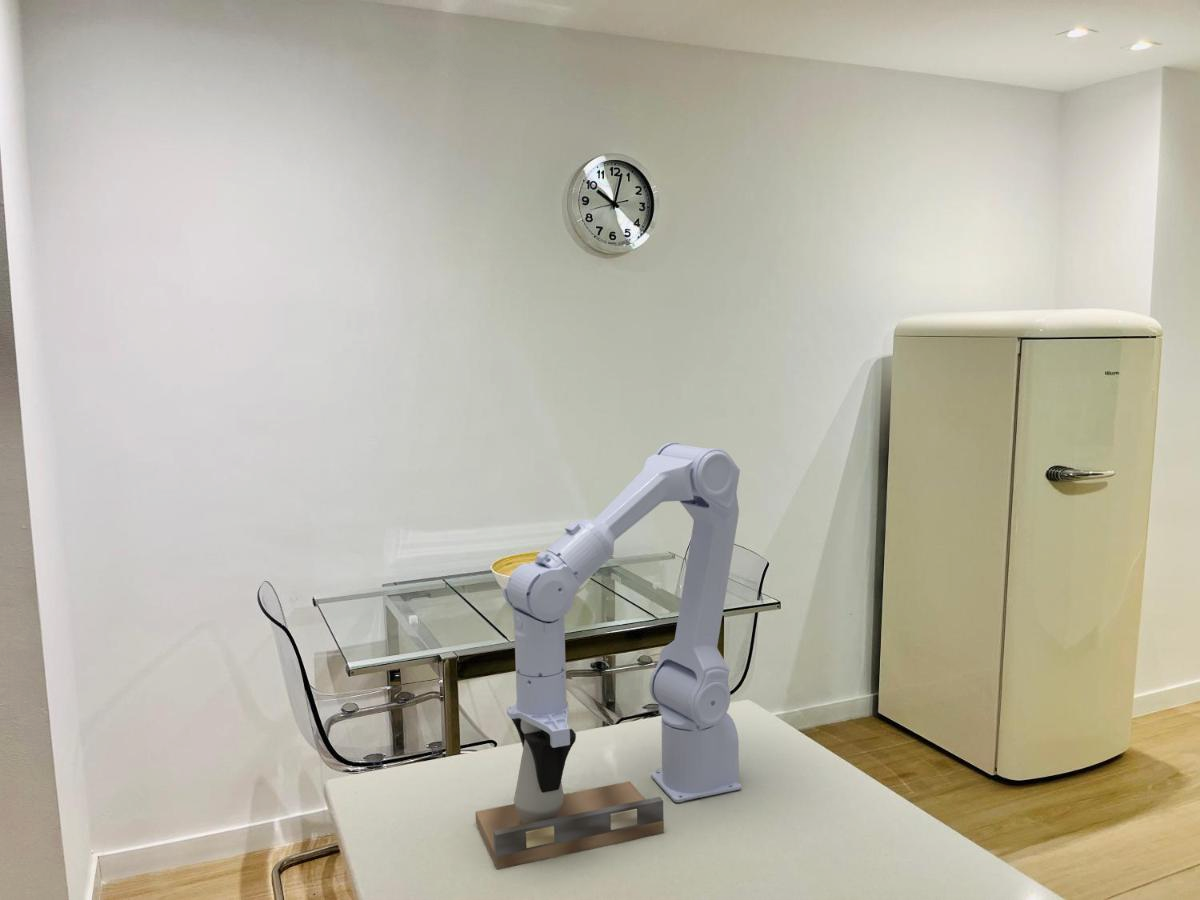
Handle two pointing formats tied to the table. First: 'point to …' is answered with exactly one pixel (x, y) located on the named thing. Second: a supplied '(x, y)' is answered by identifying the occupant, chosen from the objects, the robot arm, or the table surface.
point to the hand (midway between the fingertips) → (544, 781)
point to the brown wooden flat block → (571, 825)
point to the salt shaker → (534, 788)
